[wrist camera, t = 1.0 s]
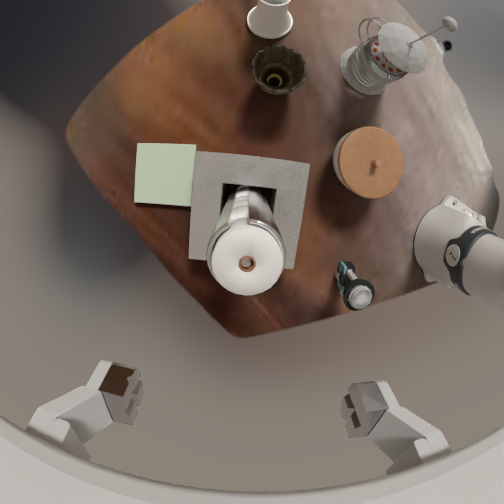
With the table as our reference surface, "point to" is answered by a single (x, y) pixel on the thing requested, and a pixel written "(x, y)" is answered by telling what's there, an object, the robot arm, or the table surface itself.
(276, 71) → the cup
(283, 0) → the vase
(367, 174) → the lidded jar
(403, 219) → the table surface
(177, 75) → the table surface
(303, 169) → the bore block
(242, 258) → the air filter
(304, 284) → the table surface
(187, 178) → the pad
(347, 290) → the push button
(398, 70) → the french press
